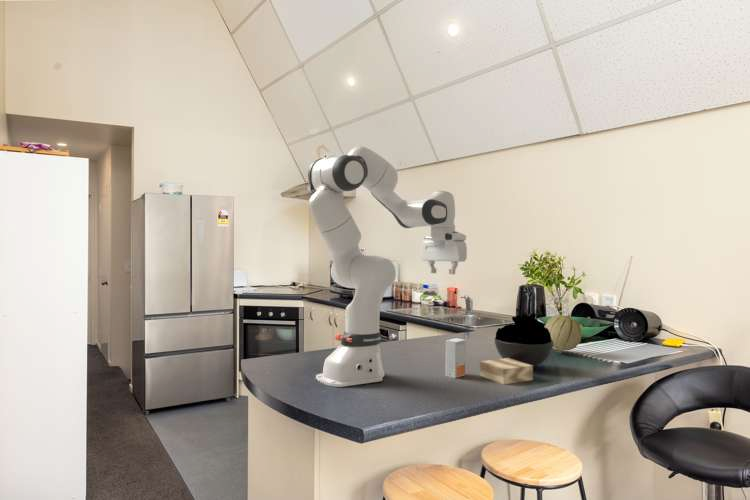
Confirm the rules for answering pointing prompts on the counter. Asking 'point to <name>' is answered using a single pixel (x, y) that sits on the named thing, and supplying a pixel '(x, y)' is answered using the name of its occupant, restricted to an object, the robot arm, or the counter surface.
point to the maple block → (506, 370)
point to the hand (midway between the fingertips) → (442, 273)
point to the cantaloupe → (564, 332)
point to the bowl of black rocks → (524, 340)
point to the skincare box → (455, 358)
